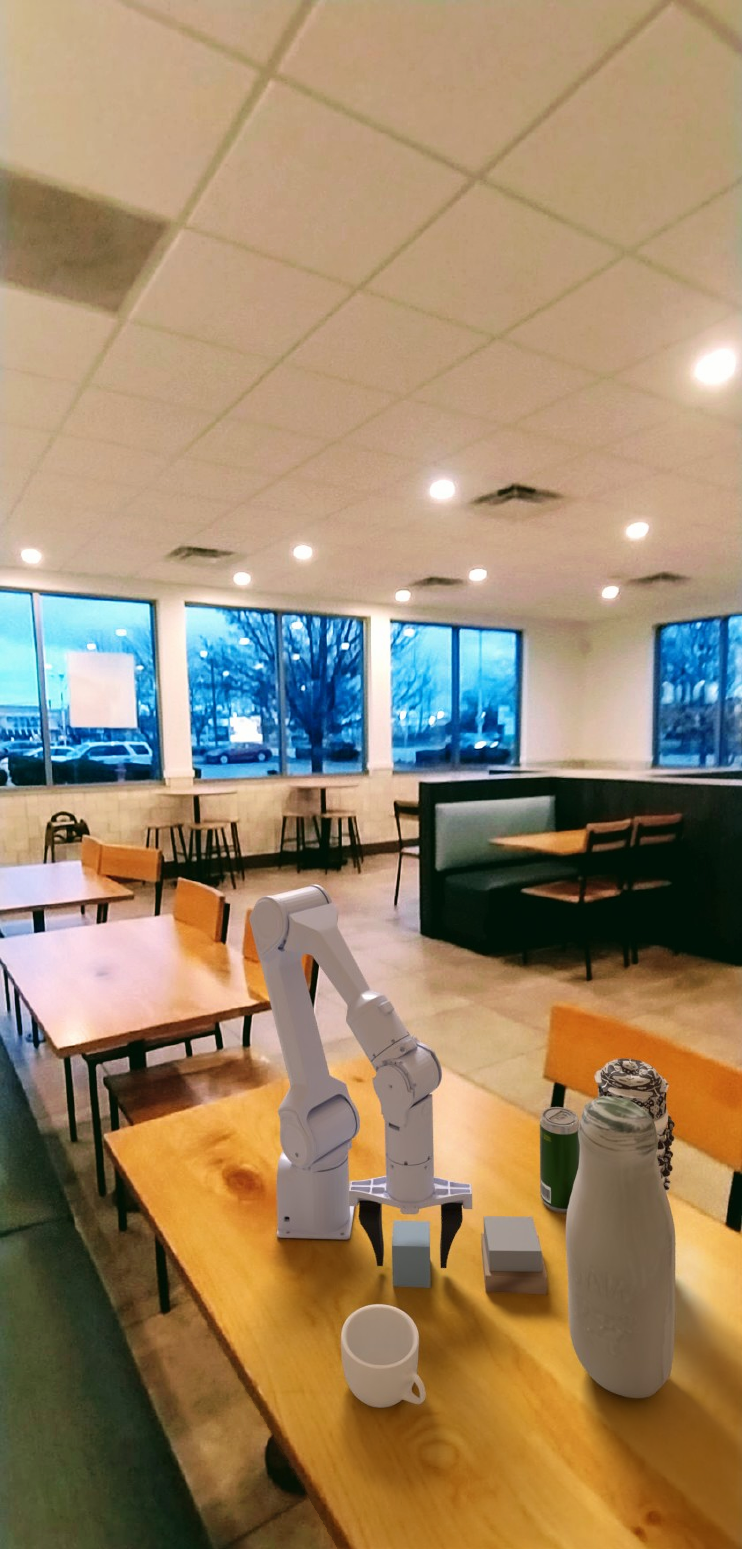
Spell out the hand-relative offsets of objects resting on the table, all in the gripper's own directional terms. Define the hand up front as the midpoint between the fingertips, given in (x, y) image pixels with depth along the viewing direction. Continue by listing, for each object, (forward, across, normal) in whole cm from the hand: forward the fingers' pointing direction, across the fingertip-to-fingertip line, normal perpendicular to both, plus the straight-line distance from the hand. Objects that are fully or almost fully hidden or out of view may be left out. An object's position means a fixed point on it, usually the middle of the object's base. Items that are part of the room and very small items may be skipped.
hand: (411, 1261), depth 87 cm
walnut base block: (+2, +12, +1) cm, 12 cm away
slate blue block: (+2, 0, 0) cm, 2 cm away
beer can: (+2, +20, +14) cm, 24 cm away
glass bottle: (+2, +21, -13) cm, 25 cm away
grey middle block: (-1, +12, +1) cm, 12 cm away
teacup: (+2, -2, -16) cm, 16 cm away
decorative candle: (+2, +26, +1) cm, 26 cm away
